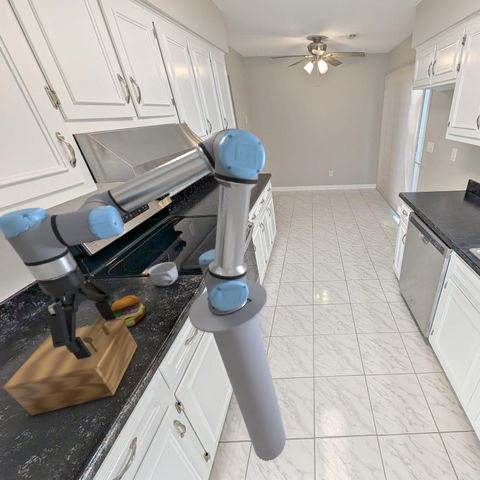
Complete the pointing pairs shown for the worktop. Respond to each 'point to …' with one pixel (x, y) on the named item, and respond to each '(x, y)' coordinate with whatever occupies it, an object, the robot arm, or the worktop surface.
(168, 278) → the teacup
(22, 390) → the chest
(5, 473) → the worktop surface
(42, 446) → the worktop surface
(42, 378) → the lid
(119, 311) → the cheeseburger
